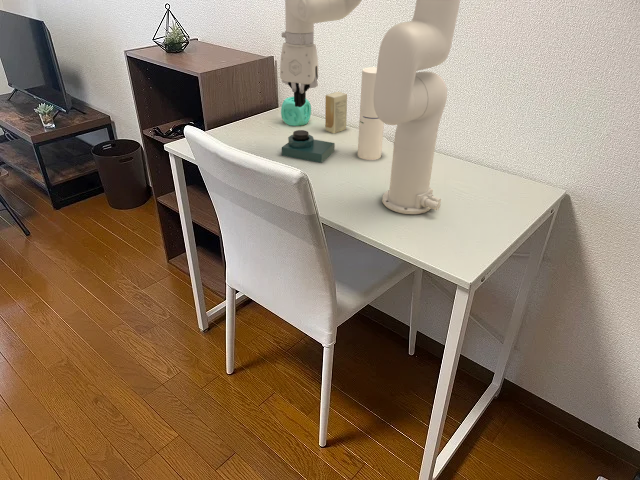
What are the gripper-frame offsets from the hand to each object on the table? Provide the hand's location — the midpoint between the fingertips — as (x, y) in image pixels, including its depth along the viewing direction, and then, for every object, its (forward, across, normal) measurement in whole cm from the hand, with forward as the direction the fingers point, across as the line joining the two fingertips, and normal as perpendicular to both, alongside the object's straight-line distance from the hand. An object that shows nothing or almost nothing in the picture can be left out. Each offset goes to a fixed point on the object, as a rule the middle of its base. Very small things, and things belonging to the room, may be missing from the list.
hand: (299, 105), depth 142 cm
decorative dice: (+15, -13, +24) cm, 31 cm away
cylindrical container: (+14, +20, +6) cm, 26 cm away
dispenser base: (+14, +3, 0) cm, 15 cm away
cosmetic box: (+15, +3, +22) cm, 27 cm away
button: (+10, 0, 0) cm, 10 cm away
